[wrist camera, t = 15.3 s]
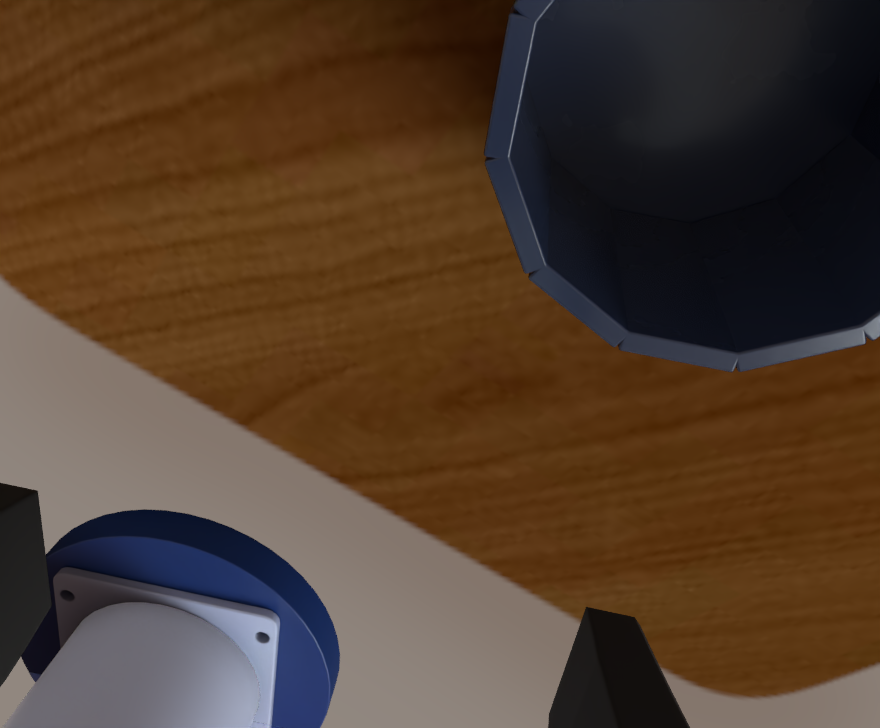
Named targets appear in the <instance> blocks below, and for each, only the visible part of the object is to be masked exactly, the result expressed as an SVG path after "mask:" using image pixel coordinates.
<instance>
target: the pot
mask: <svg viewBox="0 0 880 728" xmlns="http://www.w3.org/2000/svg"><path fill="white" fill-rule="evenodd" d="M484 155H485V156H486V159H485V166H486V169H487V172H488V174H489V177H490V180H491V183H492V185H493V188H494V191H495V194H496V196H497V199H498V202H499V205H500V207H501V210H502V213H503V216H504V218H505V221H506V224H507V227H508V229H509V232H510V235H511V238H512V240H513V243H514V246H515V249H516V251H517V254H518V257H519V260H520V262H521V265H522V268H523V271H524V272H525V273H529V279H530V280H531V281H532V282H533V283H535V284H536V285H537V286H538V287H540V288H541V289H542V290H543V291H544V292H546V293H547V294H548V295H549V296H551V297H552V298H553V299H554V300H556V301H557V302H558V303H559V304H561V305H562V306H563V307H564V308H565V309H567V310H568V311H569V312H570V313H572V314H573V315H574V316H575V317H577V318H578V319H579V320H580V321H582V322H583V323H584V324H585V325H586V326H588V327H589V328H590V329H591V330H593V331H594V332H595V333H596V334H598V335H599V336H600V337H601V338H603V339H604V340H605V341H606V342H607V343H609V344H610V345H611V346H612V347H615V346H617V345H618V347H619V350H622V351H627V352H632V353H637V354H642V355H647V356H652V357H657V358H662V359H667V360H673V361H678V362H683V363H688V364H693V365H698V366H703V367H708V368H713V369H718V370H723V371H728V372H733V371H734V369H735V366H736V368H737V370H738V371H739V372H742V371H747V370H751V369H756V368H760V367H765V366H769V365H774V364H778V363H783V362H787V361H792V360H796V359H801V358H805V357H810V356H814V355H819V354H823V353H828V352H832V351H837V350H842V349H846V348H851V347H855V346H860V345H864V344H866V337H867V338H868V339H870V340H872V341H873V340H875V339H877V338H878V337H880V0H515V1H514V3H513V6H512V8H511V11H510V13H509V16H508V21H507V27H506V32H505V38H504V43H503V49H502V54H501V60H500V66H499V71H498V77H497V82H496V88H495V93H494V99H493V104H492V110H491V116H490V121H489V127H488V132H487V138H486V143H485V149H484Z"/></svg>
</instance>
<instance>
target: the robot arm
mask: <svg viewBox="0 0 880 728" xmlns="http://www.w3.org/2000/svg"><path fill="white" fill-rule="evenodd" d="M53 585H54V594H55V603H56V612H57V621H58V629H59V638H60V647H61V649H60V651H59V652H58V653H57V655H56V656H55V657H54V659H53V660H52V661H51V663H50V664H49V665H48V667H47V668H46V670H45V671H44V672H43V674H42V675H41V676H40V678H39V679H38V680H37V682H36V683H35V684H34V686H33V687H32V688H31V690H30V691H29V692H28V694H27V695H26V696H25V698H24V699H23V701H22V702H21V703H20V704H19V706H18V707H17V708H16V710H15V711H14V712H13V714H12V715H11V716H10V718H9V719H8V720H7V722H6V723H5V725H4V726H3V727H2V728H272V716H273V704H274V692H275V680H276V668H277V655H278V643H279V631H280V619H279V617H278V616H277V614H276V613H274V612H273V611H271V610H268V609H264V608H260V607H255V606H250V605H245V604H241V603H236V602H231V601H227V600H222V599H217V598H213V597H208V596H203V595H199V594H194V593H189V592H184V591H180V590H175V589H170V588H166V587H161V586H156V585H152V584H147V583H142V582H138V581H133V580H128V579H123V578H119V577H114V576H109V575H105V574H100V573H95V572H91V571H86V570H81V569H76V568H72V567H65V568H61V570H60V571H59V572H58V573H57V574H56V575H55V576H54V579H53ZM51 606H52V604H51V596H50V588H49V579H48V571H47V563H46V555H45V547H44V539H43V531H42V522H41V515H40V506H39V498H38V491H36V490H31V489H27V488H22V487H17V486H12V485H8V484H3V483H0V686H1V685H2V684H3V682H4V681H5V680H6V678H7V677H8V675H9V674H10V672H11V671H12V669H13V667H14V666H15V665H16V663H17V661H18V660H19V658H20V657H21V655H22V654H23V652H24V651H25V649H26V647H27V646H28V644H29V643H30V641H31V639H32V638H33V636H34V634H35V633H36V631H37V629H38V628H39V626H40V624H41V623H42V621H43V619H44V618H45V616H46V614H47V613H48V611H49V609H50V608H51ZM262 632H263V633H262ZM264 633H266V634H264ZM548 728H690V727H689V725H688V723H687V721H686V719H685V717H684V715H683V713H682V711H681V709H680V707H679V705H678V703H677V701H676V699H675V697H674V695H673V693H672V691H671V689H670V687H669V685H668V683H667V681H666V679H665V677H664V675H663V673H662V671H661V669H660V667H659V665H658V662H657V660H656V658H655V656H654V654H653V652H652V650H651V648H650V646H649V644H648V641H647V639H646V637H645V635H644V633H643V631H642V629H641V627H640V625H639V623H638V622H637V620H636V619H635V617H631V616H626V615H621V614H617V613H612V612H607V611H603V610H598V609H593V608H588V607H586V609H585V612H584V615H583V618H582V621H581V624H580V627H579V630H578V632H577V635H576V638H575V641H574V644H573V647H572V650H571V652H570V656H569V658H568V661H567V664H566V667H565V670H564V673H563V676H562V678H561V681H560V684H559V687H558V690H557V693H556V696H555V698H554V701H553V704H552V707H551V710H550V713H549V726H548Z"/></svg>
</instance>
